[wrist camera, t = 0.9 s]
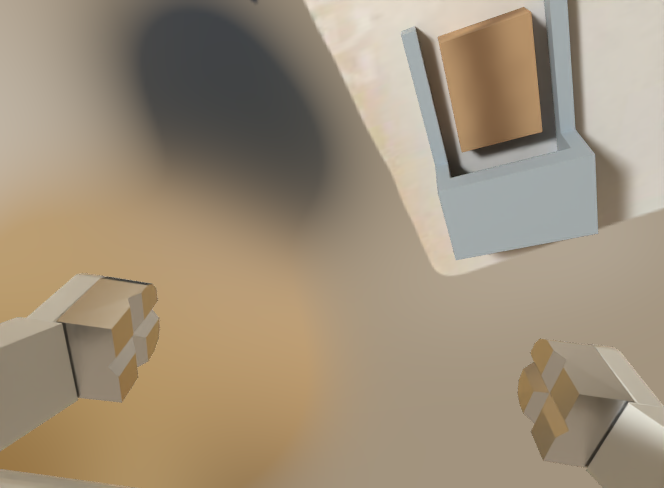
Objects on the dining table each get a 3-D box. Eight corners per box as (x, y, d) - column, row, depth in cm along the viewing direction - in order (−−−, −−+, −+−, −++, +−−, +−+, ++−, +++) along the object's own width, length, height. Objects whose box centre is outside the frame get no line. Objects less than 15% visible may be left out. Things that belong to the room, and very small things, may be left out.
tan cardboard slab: (523, 6, 35) (531, 12, 33) (534, 119, 40) (542, 131, 38) (437, 36, 37) (439, 43, 35) (459, 139, 43) (461, 152, 40)
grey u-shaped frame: (559, -28, 33) (588, -18, 28) (574, 194, 44) (598, 233, 38) (401, 31, 37) (399, 50, 32) (450, 221, 48) (456, 260, 42)
